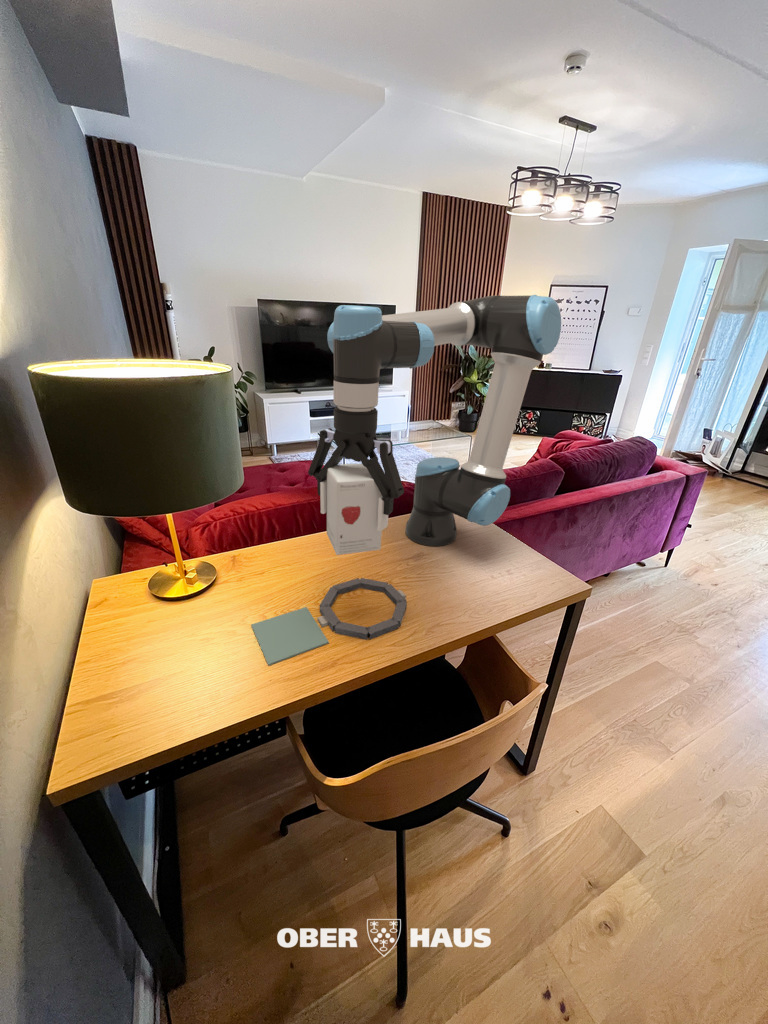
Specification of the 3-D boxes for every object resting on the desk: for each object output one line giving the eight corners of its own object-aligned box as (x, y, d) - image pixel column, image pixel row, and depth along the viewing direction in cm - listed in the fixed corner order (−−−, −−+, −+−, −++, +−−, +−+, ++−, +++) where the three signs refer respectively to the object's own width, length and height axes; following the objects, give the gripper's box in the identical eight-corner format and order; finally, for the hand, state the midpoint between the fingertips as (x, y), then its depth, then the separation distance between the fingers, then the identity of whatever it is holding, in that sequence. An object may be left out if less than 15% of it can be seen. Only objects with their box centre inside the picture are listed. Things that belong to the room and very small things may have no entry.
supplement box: (335, 556, 76) (335, 481, 70) (326, 534, 84) (325, 464, 77) (382, 550, 79) (386, 477, 72) (368, 529, 86) (371, 461, 80)
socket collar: (383, 575, 102) (383, 570, 102) (425, 618, 89) (426, 612, 88) (304, 599, 92) (303, 594, 92) (338, 652, 79) (338, 646, 78)
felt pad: (306, 608, 90) (306, 606, 90) (328, 643, 81) (328, 641, 81) (251, 626, 84) (251, 624, 84) (268, 665, 75) (268, 664, 75)
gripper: (430, 413, 68) (418, 528, 77) (312, 394, 78) (314, 498, 87) (410, 421, 62) (400, 545, 71) (285, 400, 72) (291, 510, 81)
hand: (353, 519), depth 79 cm, fingers closed on supplement box, 12 cm apart
